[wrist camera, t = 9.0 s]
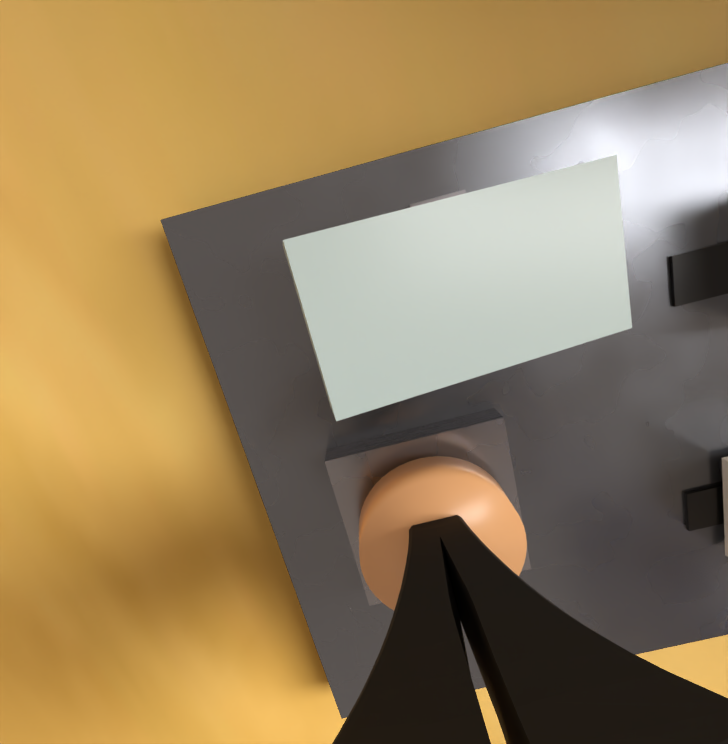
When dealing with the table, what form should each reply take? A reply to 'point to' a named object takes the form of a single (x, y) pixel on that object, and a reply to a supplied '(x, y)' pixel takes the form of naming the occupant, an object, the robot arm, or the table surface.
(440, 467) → the button
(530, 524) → the panel
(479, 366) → the plate
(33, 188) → the table surface
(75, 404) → the table surface
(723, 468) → the slider
